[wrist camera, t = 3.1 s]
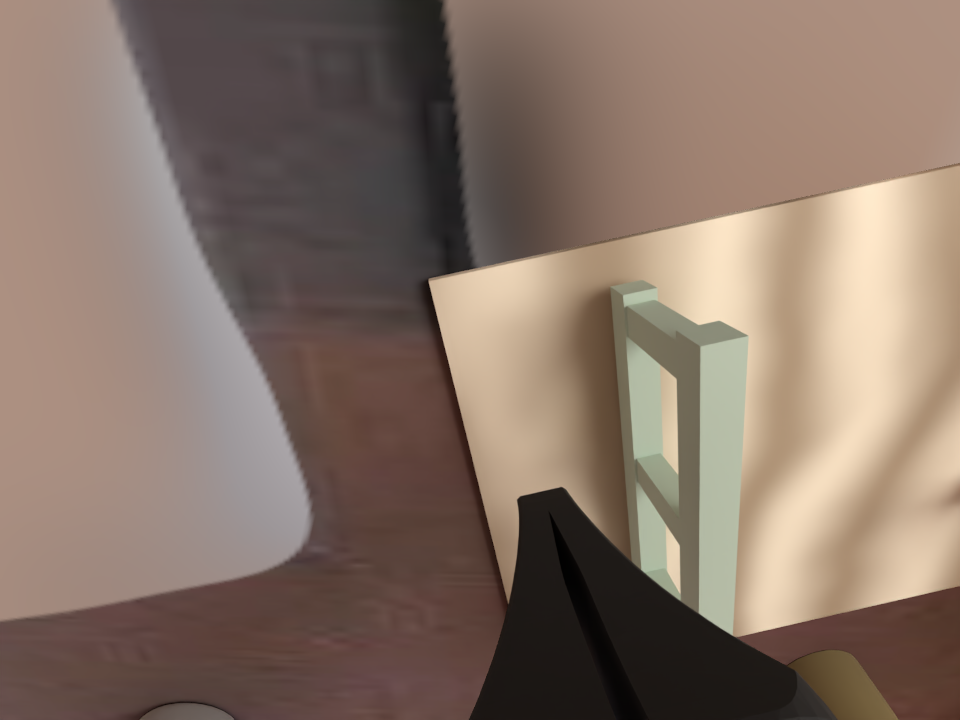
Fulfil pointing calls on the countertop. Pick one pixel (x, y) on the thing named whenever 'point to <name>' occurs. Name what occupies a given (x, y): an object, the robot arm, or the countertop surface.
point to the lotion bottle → (186, 712)
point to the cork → (843, 686)
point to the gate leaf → (682, 445)
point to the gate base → (769, 387)
